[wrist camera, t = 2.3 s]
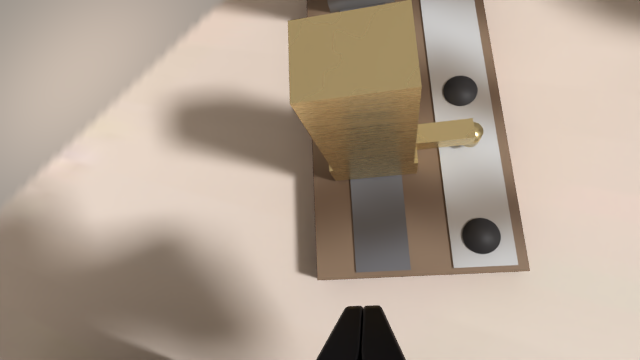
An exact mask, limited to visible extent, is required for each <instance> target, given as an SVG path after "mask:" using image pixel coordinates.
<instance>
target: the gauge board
mask: <svg viewBox="0 0 640 360" xmlns="http://www.w3.org/2000/svg"><path fill="white" fill-rule="evenodd" d="M401 1H406V0H307V17H313V16H319V15H325V14H331V13H336V12H342V11H348V10H354V9H360V8H366V7H371V6H377V5H383V4H389V3H395V2H401ZM412 9H413V17H414V26H415V34H416V43H417V51H418V59H419V68H420V76H421V85H422V89H421V99H420V109H419V119H418V124H425V123H434V122H442V121H451V120H460V119H469V118H473V122H476V123H479V124H480V125H481V126H482V128H483V135H482V137H481V139H480V141H479V142H478V144H477V145H476V146H474V147H465V146H463V145H459V146H449V147H439V148H430V149H420V150H417V156H418V169H417V174H406V175H395V176H384V177H373V178H362V179H351V180H340V181H336V180H335V179H334V177H333V176H332V175H331V173H330V172H329V164H328V162H327V161H326V159H325V157H324V156H323V154H322V153H321V151H320V150H319V148H318V147H317V145H316V143H315V142H314V140H313V139H312V150H313V176H314V202H315V228H316V254H317V280H335V279H358V278H381V277H404V276H427V275H450V274H473V273H496V272H518V271H530V268H529V263H528V257H527V251H526V245H525V240H524V234H523V228H522V222H521V216H520V211H519V205H518V199H517V193H516V188H515V182H514V176H513V170H512V164H511V159H510V153H509V147H508V141H507V136H506V130H505V124H504V118H503V113H502V107H501V101H500V95H499V89H498V84H497V78H496V72H495V66H494V61H493V55H492V49H491V43H490V37H489V32H488V26H487V20H486V14H485V9H484V3H483V0H412Z"/></svg>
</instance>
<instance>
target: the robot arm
mask: <svg viewBox="0 0 640 360" xmlns="http://www.w3.org/2000/svg"><path fill="white" fill-rule="evenodd" d="M316 360H406V359H405V357H404V355H403V353H402V351H401V348H400V346H399V344H398V342H397V340H396V338H395V336H394V333H393V331H392V329H391V327H390V325H389V323H388V320H387V318H386V316H385V314H384V312H383V310H382V308H381V307H380V306H365V307H364V309H363V307H361V306H349V307H346V308H345V309H344V311H343V313H342V315H341V316H340V318H339V320H338V322H337V323H336V325H335V327H334V329H333V331H332V332H331V334H330V336H329V338H328V340H327V341H326V343H325V345H324V347H323V349H322V350H321V352H320V354H319V356H318V357H317V359H316Z"/></svg>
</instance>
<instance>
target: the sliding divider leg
mask: <svg viewBox="0 0 640 360" xmlns="http://www.w3.org/2000/svg"><path fill="white" fill-rule="evenodd" d="M288 41H289V83H290V105H291V106H292V108H293V109H294V111H295V112H296V114H297V116H298V117H299V119H300V120H301V122H302V123H303V125H304V126H305V128H306V129H307V131H308V133H309V134H310V136H311V137H312V139H313V140H314V142H315V143H316V145H317V147H318V148H319V150H320V151H321V153H322V154H323V156H324V157H325V159H326V161H327V162H328V164H329V172H330V173H331V175H332V176H333V177H334V179H335V180H336V181H340V180H351V179H362V178H373V177H384V176H395V175H406V174H417V169H418V156H417V150H420V149H430V148H439V147H449V146H459V145H463V146H465V147H474V146H476V145H477V144H478V142H479V141H480V139H481V137H482V135H483V128H482V126H481V125H480V124H479V123H476V122H473V118H469V119H460V120H451V121H442V122H434V123H425V124H418V119H419V109H420V99H421V89H422V85H421V76H420V68H419V59H418V51H417V43H416V34H415V26H414V17H413V9H412V0H406V1H401V2H395V3H389V4H383V5H377V6H371V7H366V8H360V9H354V10H348V11H342V12H336V13H331V14H325V15H319V16H313V17H307V18H302V19H296V20H290V21H288Z"/></svg>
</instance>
